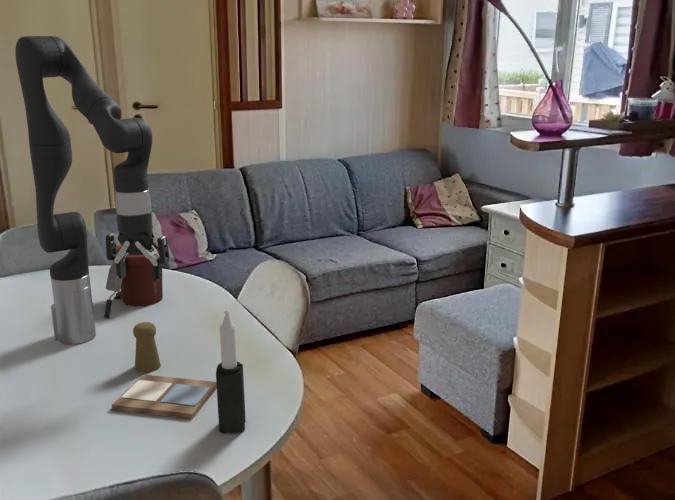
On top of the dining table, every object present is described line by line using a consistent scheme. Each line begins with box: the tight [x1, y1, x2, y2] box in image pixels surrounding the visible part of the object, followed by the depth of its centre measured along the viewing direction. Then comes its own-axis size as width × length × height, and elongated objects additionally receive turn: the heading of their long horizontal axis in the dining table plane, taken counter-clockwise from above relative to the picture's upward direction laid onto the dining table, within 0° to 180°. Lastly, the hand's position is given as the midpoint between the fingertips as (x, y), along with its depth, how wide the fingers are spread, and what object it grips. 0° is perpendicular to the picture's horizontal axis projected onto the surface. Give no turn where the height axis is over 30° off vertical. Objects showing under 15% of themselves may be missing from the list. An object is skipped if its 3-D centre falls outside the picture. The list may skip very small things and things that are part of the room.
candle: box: [215, 309, 247, 434], centre depth 133 cm, size 5×5×25 cm
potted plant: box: [103, 242, 164, 319], centre depth 199 cm, size 18×22×25 cm
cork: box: [132, 321, 162, 374], centre depth 161 cm, size 6×6×11 cm
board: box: [111, 374, 217, 420], centre depth 148 cm, size 18×14×1 cm
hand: (139, 279), depth 156 cm, fingers open, 8 cm apart
